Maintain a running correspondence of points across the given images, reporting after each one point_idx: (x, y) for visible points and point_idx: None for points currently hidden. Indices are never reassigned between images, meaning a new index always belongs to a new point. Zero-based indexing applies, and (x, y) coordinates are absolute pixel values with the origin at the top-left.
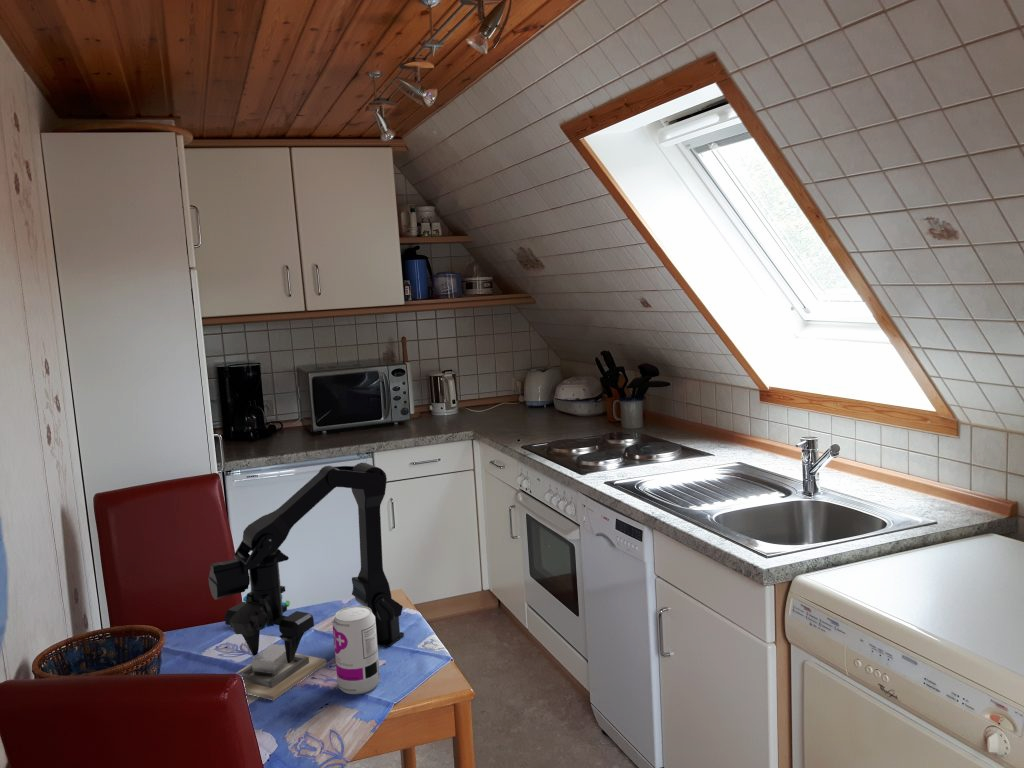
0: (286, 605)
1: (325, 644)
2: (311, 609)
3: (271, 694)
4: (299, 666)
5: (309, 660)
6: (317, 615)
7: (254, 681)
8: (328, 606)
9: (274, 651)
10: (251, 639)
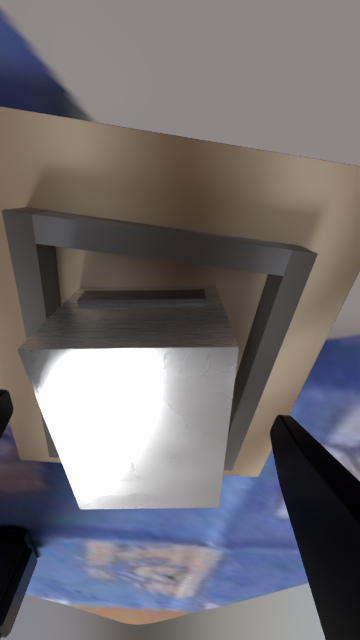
0: None
1: (127, 511)
2: (268, 586)
3: None
4: None
5: None
6: (240, 576)
7: (164, 228)
8: (236, 595)
9: (137, 458)
10: (352, 549)
